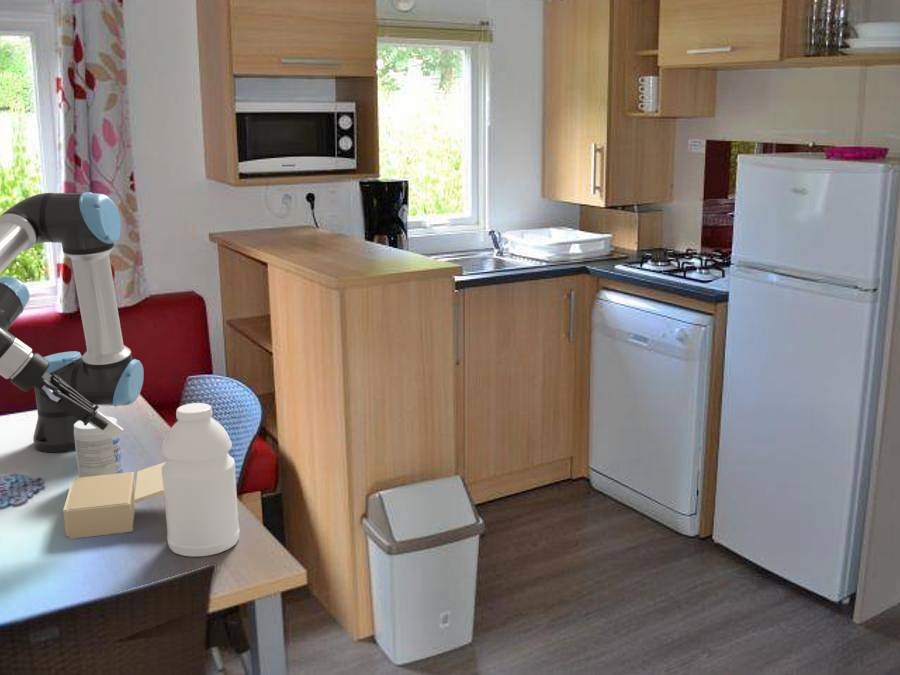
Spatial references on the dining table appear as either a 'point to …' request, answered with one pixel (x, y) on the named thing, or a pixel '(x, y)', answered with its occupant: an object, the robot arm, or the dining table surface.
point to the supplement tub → (96, 451)
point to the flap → (149, 483)
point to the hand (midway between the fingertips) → (118, 434)
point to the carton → (100, 505)
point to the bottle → (199, 484)
